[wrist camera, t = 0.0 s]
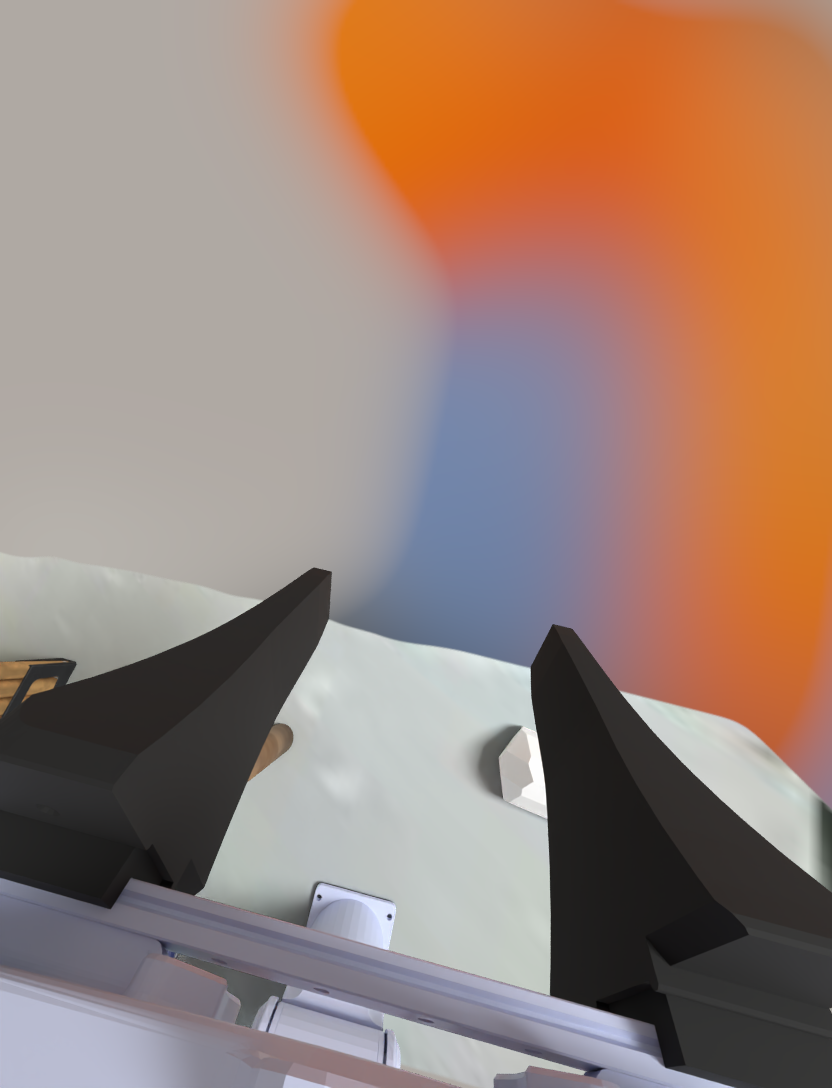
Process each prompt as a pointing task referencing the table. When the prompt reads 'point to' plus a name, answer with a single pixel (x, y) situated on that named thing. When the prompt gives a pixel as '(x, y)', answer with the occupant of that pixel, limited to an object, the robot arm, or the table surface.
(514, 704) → the table surface
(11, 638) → the table surface
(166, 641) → the table surface
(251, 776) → the walnut peg
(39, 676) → the ammunition clip
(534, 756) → the crystal
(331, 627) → the table surface
